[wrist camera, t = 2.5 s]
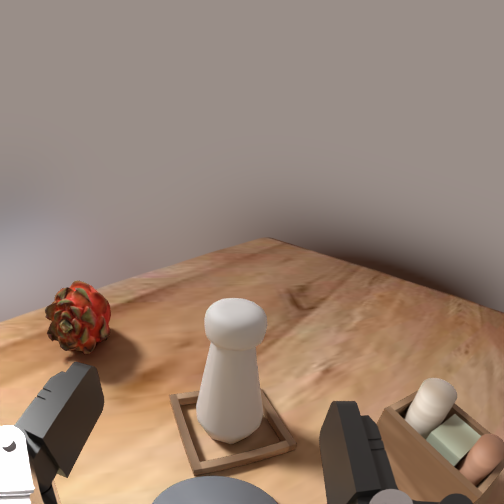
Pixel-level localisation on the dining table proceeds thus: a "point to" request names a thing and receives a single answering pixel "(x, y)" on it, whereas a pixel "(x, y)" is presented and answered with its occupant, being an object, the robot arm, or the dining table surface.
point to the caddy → (438, 445)
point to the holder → (237, 459)
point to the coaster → (213, 492)
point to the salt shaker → (232, 370)
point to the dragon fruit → (78, 318)
